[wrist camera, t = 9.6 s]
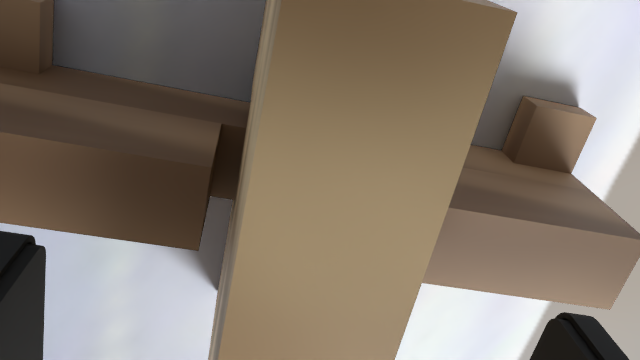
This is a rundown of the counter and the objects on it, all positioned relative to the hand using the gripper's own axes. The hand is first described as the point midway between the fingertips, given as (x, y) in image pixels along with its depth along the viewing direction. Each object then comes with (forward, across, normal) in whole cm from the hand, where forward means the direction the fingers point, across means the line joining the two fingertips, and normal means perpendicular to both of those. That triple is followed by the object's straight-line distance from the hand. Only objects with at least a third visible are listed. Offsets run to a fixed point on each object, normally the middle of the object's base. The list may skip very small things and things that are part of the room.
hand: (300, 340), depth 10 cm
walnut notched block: (+8, 0, -1) cm, 8 cm away
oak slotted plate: (+8, 0, -1) cm, 8 cm away
